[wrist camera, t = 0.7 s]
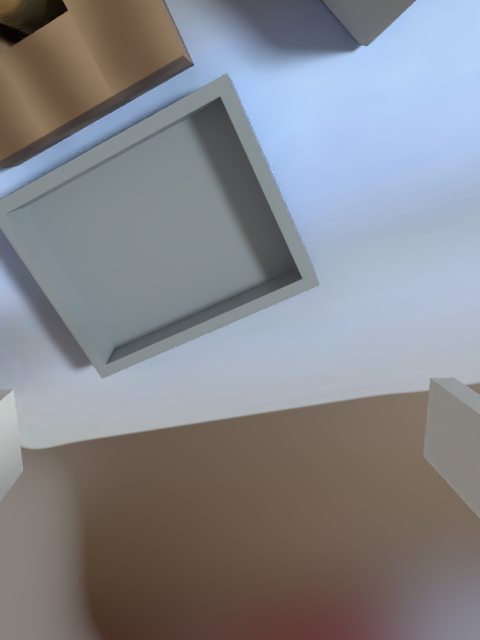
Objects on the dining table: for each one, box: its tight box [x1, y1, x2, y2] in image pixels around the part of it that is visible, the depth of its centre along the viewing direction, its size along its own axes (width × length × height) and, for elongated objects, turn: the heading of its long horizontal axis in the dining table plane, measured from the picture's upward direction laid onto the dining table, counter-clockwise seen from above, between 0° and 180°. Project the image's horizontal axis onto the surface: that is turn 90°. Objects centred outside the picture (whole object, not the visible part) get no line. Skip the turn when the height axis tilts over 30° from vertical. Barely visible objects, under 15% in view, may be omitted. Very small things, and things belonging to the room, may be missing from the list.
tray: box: [0, 74, 320, 378], centre depth 36 cm, size 20×16×4 cm
